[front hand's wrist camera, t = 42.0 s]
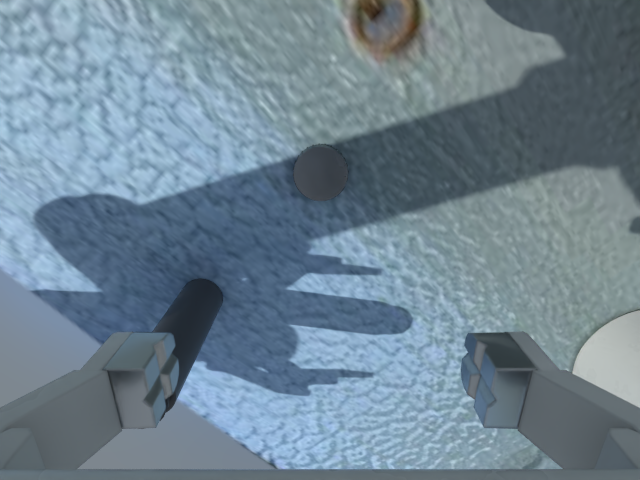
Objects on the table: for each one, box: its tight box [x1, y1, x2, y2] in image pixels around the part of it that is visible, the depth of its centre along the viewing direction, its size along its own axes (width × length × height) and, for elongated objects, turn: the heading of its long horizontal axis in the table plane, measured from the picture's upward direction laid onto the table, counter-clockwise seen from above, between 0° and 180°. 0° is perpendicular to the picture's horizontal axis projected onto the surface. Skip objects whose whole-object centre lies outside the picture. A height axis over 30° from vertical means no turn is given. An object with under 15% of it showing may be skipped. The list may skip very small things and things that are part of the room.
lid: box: [293, 144, 348, 201], centre depth 35 cm, size 5×5×2 cm
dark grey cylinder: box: [138, 279, 223, 429], centre depth 33 cm, size 4×4×16 cm
